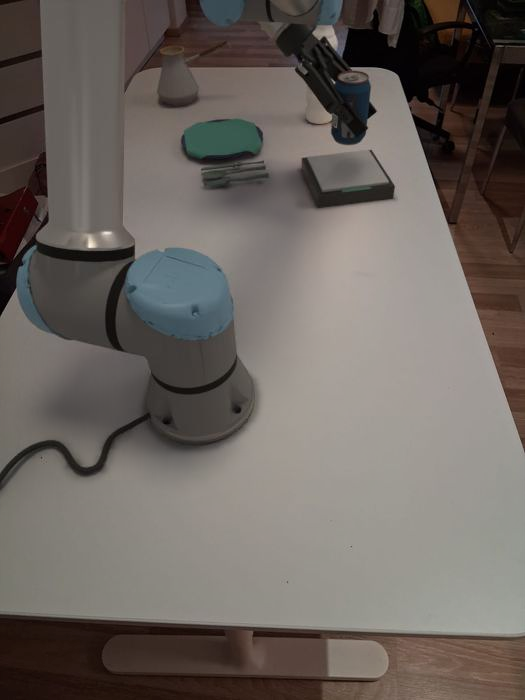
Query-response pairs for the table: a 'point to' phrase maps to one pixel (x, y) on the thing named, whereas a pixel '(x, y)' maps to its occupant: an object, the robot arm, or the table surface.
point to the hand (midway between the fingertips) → (366, 124)
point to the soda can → (358, 95)
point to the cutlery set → (224, 146)
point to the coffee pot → (179, 75)
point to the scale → (346, 178)
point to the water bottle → (314, 107)
